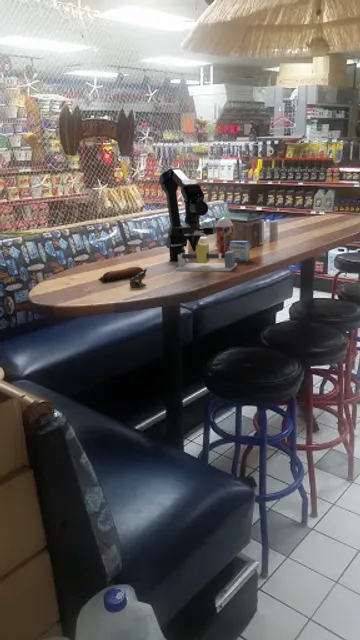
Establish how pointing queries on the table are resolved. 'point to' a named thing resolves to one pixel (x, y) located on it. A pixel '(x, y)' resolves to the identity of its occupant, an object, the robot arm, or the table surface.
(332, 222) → the table surface
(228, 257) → the cord rig
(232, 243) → the medicine box
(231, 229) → the smoothie
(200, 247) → the sleeve
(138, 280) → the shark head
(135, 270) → the sweet potato
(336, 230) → the table surface
